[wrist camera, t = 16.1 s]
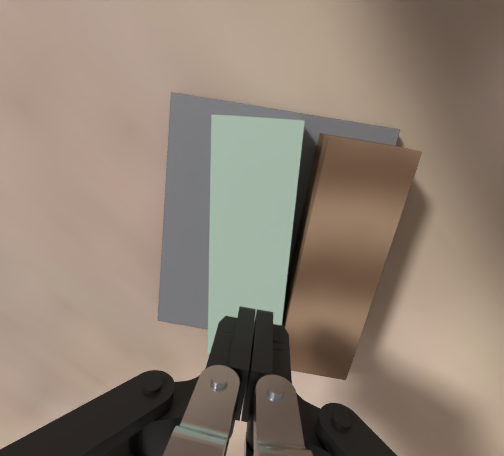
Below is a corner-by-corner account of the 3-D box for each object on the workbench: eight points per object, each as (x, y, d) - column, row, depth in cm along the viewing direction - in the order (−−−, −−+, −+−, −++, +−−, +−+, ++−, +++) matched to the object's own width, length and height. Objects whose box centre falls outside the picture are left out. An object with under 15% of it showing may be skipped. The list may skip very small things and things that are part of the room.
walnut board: (319, 133, 21) (329, 136, 17) (395, 145, 20) (422, 152, 17) (276, 331, 26) (276, 367, 22) (335, 341, 26) (345, 380, 22)
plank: (223, 114, 21) (211, 114, 17) (299, 119, 20) (304, 120, 17) (217, 319, 26) (207, 353, 22) (277, 324, 26) (277, 360, 22)
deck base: (175, 93, 21) (171, 91, 20) (394, 129, 21) (400, 129, 20) (161, 313, 28) (157, 320, 27) (330, 343, 27) (332, 351, 26)
